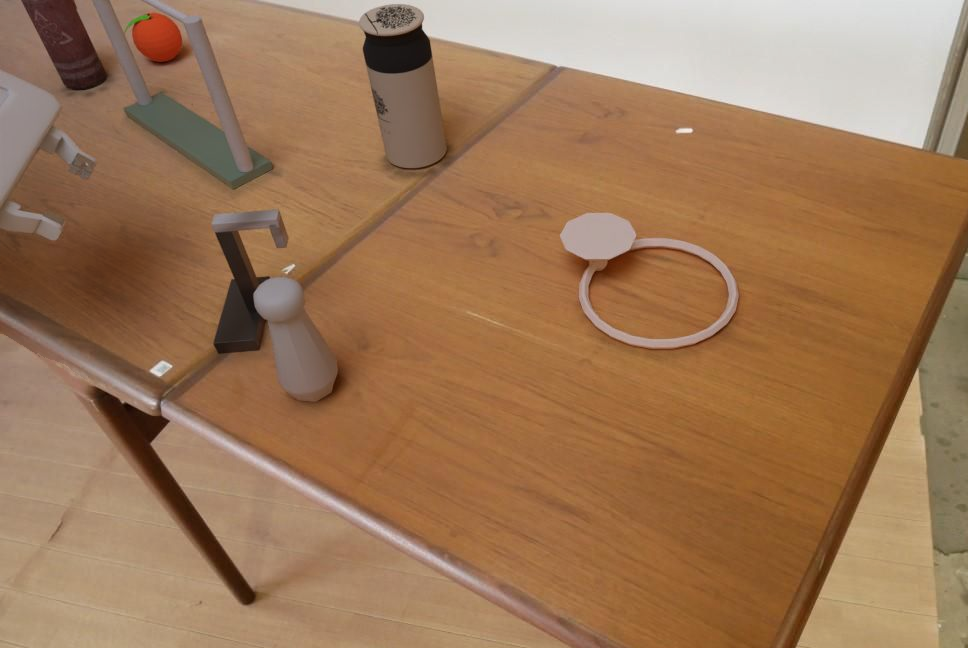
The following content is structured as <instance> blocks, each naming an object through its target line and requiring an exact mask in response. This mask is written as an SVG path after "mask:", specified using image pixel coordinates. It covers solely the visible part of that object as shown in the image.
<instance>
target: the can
mask: <svg viewBox="0 0 968 648" xmlns="http://www.w3.org/2000/svg"><path fill="white" fill-rule="evenodd" d="M20 1H21V4H22V5H23V7H24V9H25V11H26V13H27V15H28V17H29V19H30V21H31V23H32V24H33V27H34V29H35V31H36V33H37V35H38V36H39V38H40V40H41V42H42V45H43V46H44V48H45V50H46V52H47V54H48V56H49V58H50V60H51V62H52V64H53V66H54V68H55V70H56V72H57V74H58V76H59V78H60V80H61V81H62V84H63V85H64V86H65V87H66V88H68V89H70V90H75V91H85V90H88V89H92V88H95V87H96V86H97V87H98V86H99V85H100V84H102V83H103V82H104V81H105V79H106V70H105V68H104V66H103V63H102V61H101V59H100V57H99V54H98V53H97V51H96V48H95V46H94V44H93V42H92V40H91V37H90V35H89V33H88V31H87V29H86V26H85V25H84V23H83V20H82V18H81V16H80V14H79V12H78V10H77V9H78V6H77V4H76V1H75V0H20Z"/></svg>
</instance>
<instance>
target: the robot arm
mask: <svg viewBox="0 0 968 648" xmlns="http://www.w3.org/2000/svg"><path fill="white" fill-rule="evenodd" d="M62 111H63V105H62V103H61V102H60V101H59V100H58V99H57V97H55V96H54V94H52V93H50V92H48V91H47V90H45V89H43V88H40V87H39V86H37V85H34V84H33V83H31V82H29V81H26V80H25V79H22V78H20V77H18V76H16V75H14V74H11V73H9V72H8V71H7V72H6V71H5V70H2V69H0V229H2V230H4V231H6V232H12V233H29V234H36V235H39V236H41V237H43V238H45V239H47V240H50V241H53V242H55V241H57V240H58V239H59V238H60V236H61V234H62V232H63V230H64V228H65V227H66V224H67V220H66V219H65V218H64V217H63V216H61V215H57V214H56V213H55V212H53V211H51V210H48V209H46V210H45V212H44V214H41V213H37V212H36V213H35V212H32V211H31V212H30V211H26V210H20V209H21V207H22V206H21V205H20V204H19V203H17V202H14V201H13V200H11V199H10V197H11V195H12V193H14V191H15V189H16V187H17V186H18V184H19V183H20V181H21V179H22V177H23V176H24V174H25V173H26V172H27V169H28V168H29V166H30V164H32V161H33V160H34V158H35V157H36V155H37V153H38V152H39V150H41V151H43V152H45V153H47V154H49V155H54V153H55V154H56V155H57V156H59V157H60V158H61V159H62V160H63V161H64V162H65V163H66V165H68V166H69V169H68V172H69V173H71V174H73V175H75V176H78V177H79V178H81V179H83V180H88V179H90V177H91V176H92V174H93V172H94V170H96V167H97V165H98V163H99V162H98V160H97V159H96V158H95V157H94V156H92V155H90V154H88V153H86V152H85V151H83V150H81V148H80V147H79V146H78V145H77V144H76V142H74V140H72V138H71V137H70V136H69V134H68V133H67V132H65V131H64V130H61V129H60V128H57V127H56V126H55V123H56V122H57V120H58V118H59V116H60V114H61V112H62Z"/></svg>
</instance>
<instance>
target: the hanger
mask: <svg viewBox="0 0 968 648" xmlns="http://www.w3.org/2000/svg"><path fill="white" fill-rule="evenodd" d="M211 228H212V230H213V232H214V234H215V237H216V239H217V241H218V244H219V246H220V249H221V250H222V253H223V255H224V257H225V260H226V262H227V265H228V267H229V270H230V272H231V274H232V276H233V278H231V279H230V283H229V286H228V290H227V293H226V297H225V300H224V303H223V307H222V310H221V314H220V318H219V321H218V325H217V328H216V332H215V336H214V338H213V339H214V340H213V343H212V344H213V346H214V348H215V350H216V353H217V354H229V353H238V352H251V351H252V352H253V351H259V350H260V346H261V343H262V342H261V341H262V337H263V334H264V329H265V325H266V321H267V320H265V319H264V318H263V317H262V316H261V315H260V314H259V313H258V312H257V310H256V308H255V304H254V296H253V294H254V292H255V291H256V289H257V288H258V286H259V285H260V284H262V283H263V282H264V281H266V280H268V279H271V276H270V275H268V276H267V275H265V276H257V275H256V272H255V270H254V267H253V265H252V262H251V259H250V257H249V255H248V252H247V249H246V247H245V245H244V242H243V240H242V237H241V235H240V232H239V231H253V230H265V229H269V231H270V234H271V237H272V239H273V242H274V245H275V247H276V249H286V248H288V242H289V238H290V237H289V235H288V231H287V228H286V225H285V223H284V220H283V216H282V214H281V211H280V209H277V208H276V209H266V210H253V211H251V210H250V211H241V212H239V211H238V212H227V213H215V214H214V215H213V217H212V221H211Z"/></svg>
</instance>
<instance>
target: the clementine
mask: <svg viewBox="0 0 968 648" xmlns="http://www.w3.org/2000/svg"><path fill="white" fill-rule="evenodd" d="M131 26H133V27H132V29H131V36H132V41H133V44H134V46H135V47H136V49H137V50H138V52H140V54H141V55H143V56H144V57H145V58H147V59H149V60H150V61H155V62H159V63H160V62H161V63H163V62H169V61H171V60H173V59H175V58H176V57H177V56H178V54H179V53H180V52H181V49H182V47H183V36H182V33H181V30H180V28H179V27H178V25H177V24H176V23H175V22H174V21H173V20H172V18H170V17H168V16H166V15H164V14H162V13H160V12H159V13H158V12H148V13H144V14H142V15H139V16H137V17H135V18H133V19H132V20H131V21H130V22H129V23H128V24H127V25H126V27H125V30H124V31H123V32H124V35H125V36H126V33H127V30H128V29H129V28H131Z"/></svg>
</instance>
